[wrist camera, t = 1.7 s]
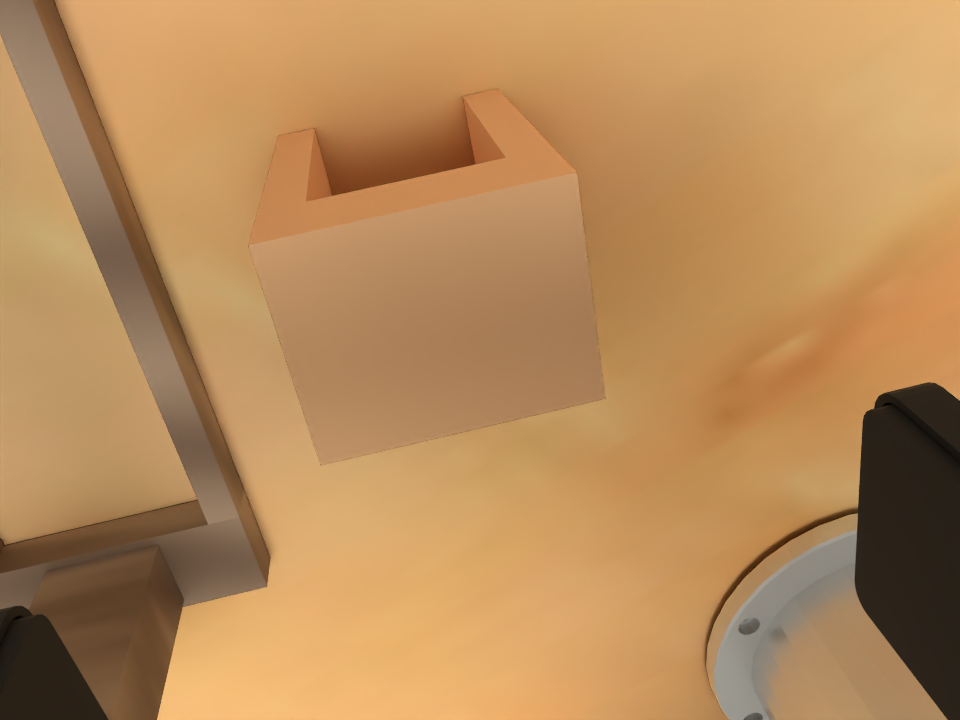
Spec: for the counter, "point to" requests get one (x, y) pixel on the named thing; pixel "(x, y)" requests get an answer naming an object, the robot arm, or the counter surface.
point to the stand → (181, 400)
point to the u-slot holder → (430, 289)
